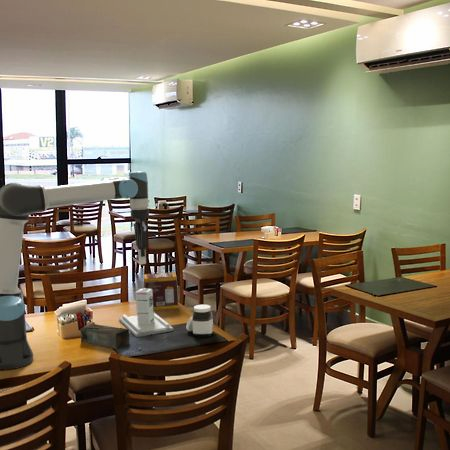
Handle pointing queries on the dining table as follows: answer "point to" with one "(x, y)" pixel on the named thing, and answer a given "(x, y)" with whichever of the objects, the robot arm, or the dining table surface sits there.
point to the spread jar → (201, 321)
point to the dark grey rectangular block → (105, 336)
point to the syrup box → (145, 306)
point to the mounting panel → (145, 326)
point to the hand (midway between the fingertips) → (142, 263)
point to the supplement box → (162, 290)
